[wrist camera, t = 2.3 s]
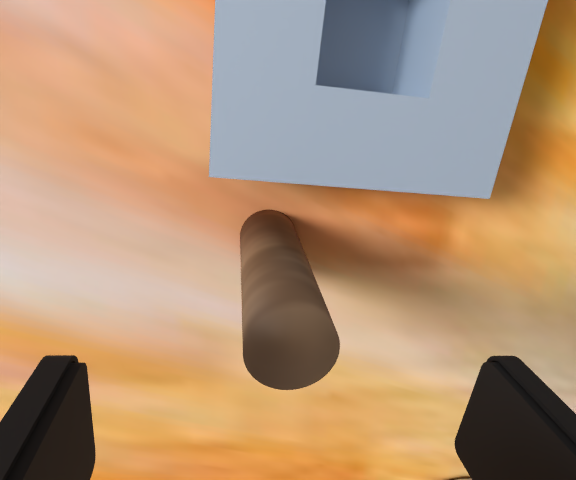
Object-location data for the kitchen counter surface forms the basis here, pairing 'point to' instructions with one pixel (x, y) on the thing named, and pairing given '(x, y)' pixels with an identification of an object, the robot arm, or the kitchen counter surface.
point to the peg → (282, 307)
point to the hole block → (369, 91)
